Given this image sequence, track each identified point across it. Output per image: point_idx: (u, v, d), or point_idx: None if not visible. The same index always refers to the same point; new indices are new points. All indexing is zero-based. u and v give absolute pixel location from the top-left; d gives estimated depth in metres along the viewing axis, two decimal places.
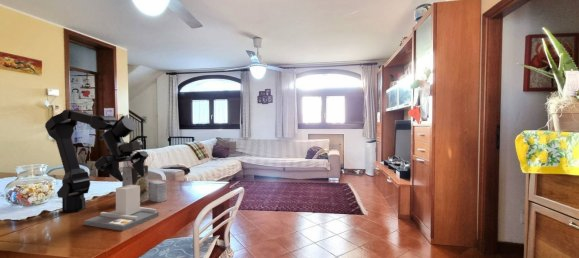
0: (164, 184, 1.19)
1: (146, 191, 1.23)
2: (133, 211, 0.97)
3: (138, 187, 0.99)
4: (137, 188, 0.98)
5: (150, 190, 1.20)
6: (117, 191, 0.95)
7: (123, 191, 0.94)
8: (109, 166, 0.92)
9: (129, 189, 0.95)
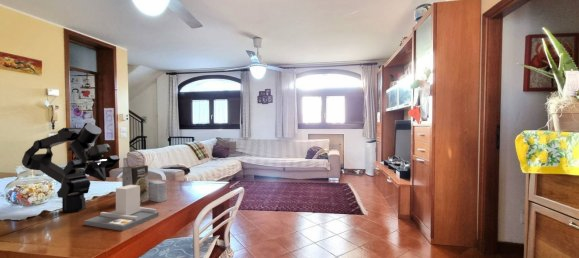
0: (164, 184, 1.19)
1: (146, 191, 1.23)
2: (133, 211, 0.97)
3: (138, 187, 0.99)
4: (137, 188, 0.98)
5: (150, 190, 1.20)
6: (117, 191, 0.95)
7: (123, 191, 0.94)
8: (90, 168, 1.00)
9: (129, 189, 0.95)
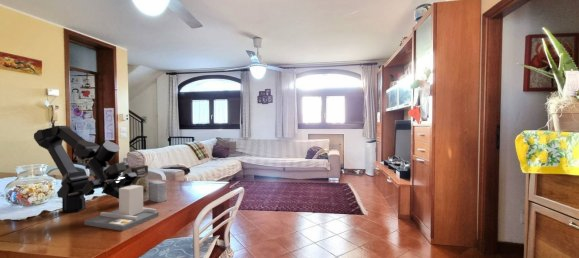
0: (164, 184, 1.19)
1: (146, 191, 1.23)
2: (136, 211, 0.96)
3: (141, 187, 0.98)
4: (140, 188, 0.98)
5: (150, 190, 1.20)
6: (120, 191, 0.94)
7: (126, 191, 0.93)
8: (109, 187, 0.97)
9: (132, 189, 0.94)
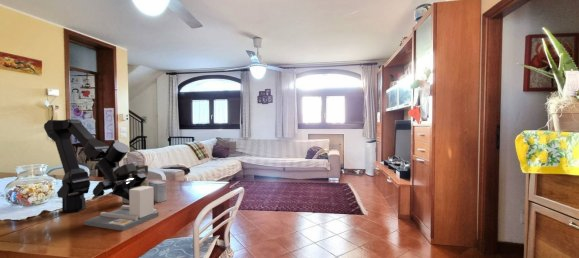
0: (164, 184, 1.19)
1: None
2: (147, 213, 0.95)
3: (152, 188, 0.97)
4: (150, 189, 0.96)
5: None
6: (131, 192, 0.93)
7: (137, 192, 0.92)
8: (119, 189, 0.95)
9: (143, 190, 0.93)
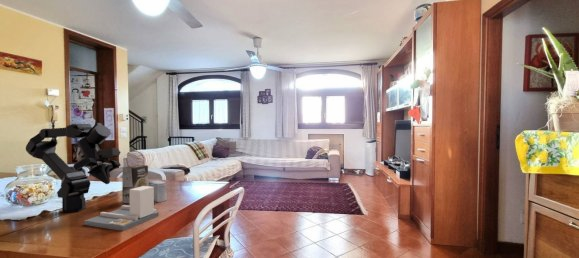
0: (164, 184, 1.19)
1: None
2: (147, 213, 0.95)
3: (152, 188, 0.97)
4: (150, 189, 0.96)
5: None
6: (131, 192, 0.93)
7: (137, 192, 0.92)
8: (97, 169, 0.99)
9: (143, 190, 0.93)
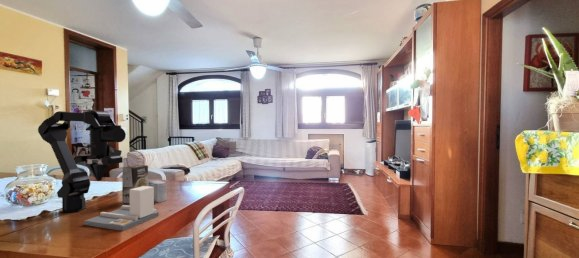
0: (164, 184, 1.19)
1: None
2: (147, 213, 0.95)
3: (152, 188, 0.97)
4: (150, 189, 0.96)
5: None
6: (131, 192, 0.93)
7: (137, 192, 0.92)
8: (103, 164, 1.02)
9: (143, 190, 0.93)
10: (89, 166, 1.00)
